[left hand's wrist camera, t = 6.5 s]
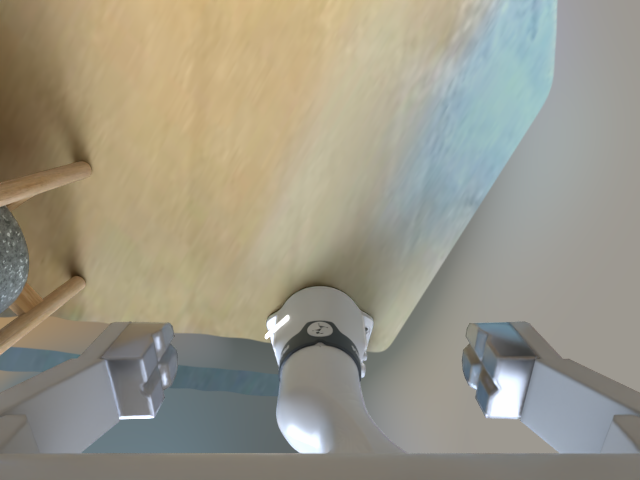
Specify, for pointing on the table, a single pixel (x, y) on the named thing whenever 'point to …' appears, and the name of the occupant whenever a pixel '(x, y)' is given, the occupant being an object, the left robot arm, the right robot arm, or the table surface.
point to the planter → (13, 259)
